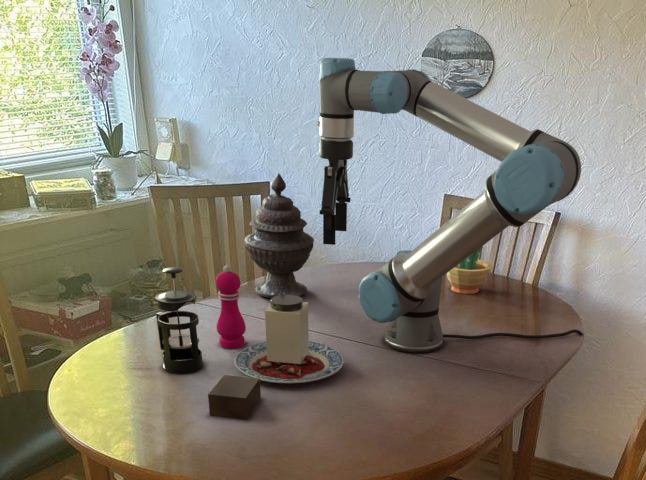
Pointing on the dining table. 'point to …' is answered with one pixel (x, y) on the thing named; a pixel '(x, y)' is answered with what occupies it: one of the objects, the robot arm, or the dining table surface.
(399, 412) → the dining table surface
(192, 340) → the french press
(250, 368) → the ceramic plate
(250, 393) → the walnut block
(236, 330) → the pepper mill
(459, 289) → the potted cactus
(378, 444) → the dining table surface
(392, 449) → the dining table surface
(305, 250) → the decorative urn
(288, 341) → the beige box
